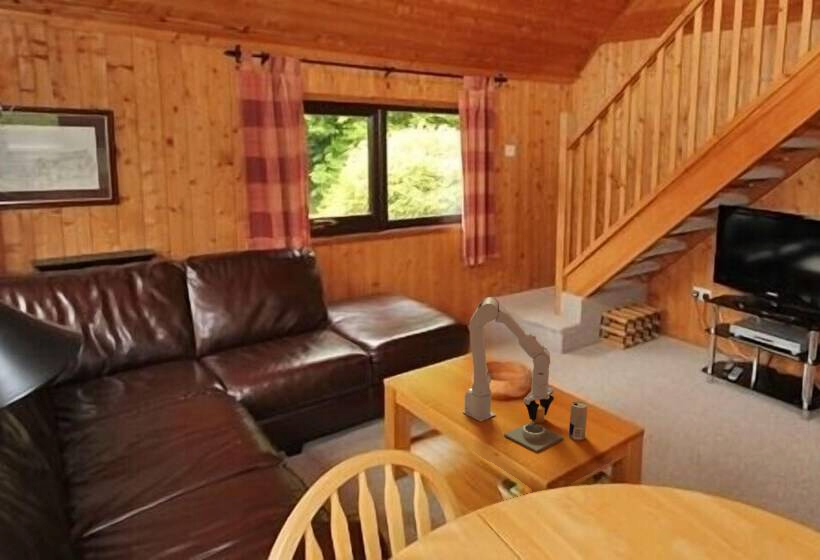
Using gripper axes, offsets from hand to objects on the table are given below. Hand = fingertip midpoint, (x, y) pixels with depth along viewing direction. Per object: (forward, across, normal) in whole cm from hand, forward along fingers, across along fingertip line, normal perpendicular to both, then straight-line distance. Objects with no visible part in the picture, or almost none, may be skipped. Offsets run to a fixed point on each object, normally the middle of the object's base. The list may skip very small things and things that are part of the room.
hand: (537, 416), depth 214 cm
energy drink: (+2, +1, -16) cm, 16 cm away
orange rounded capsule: (+2, 0, 0) cm, 2 cm away
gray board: (+1, -11, -7) cm, 13 cm away
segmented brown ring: (+1, -11, -7) cm, 13 cm away
